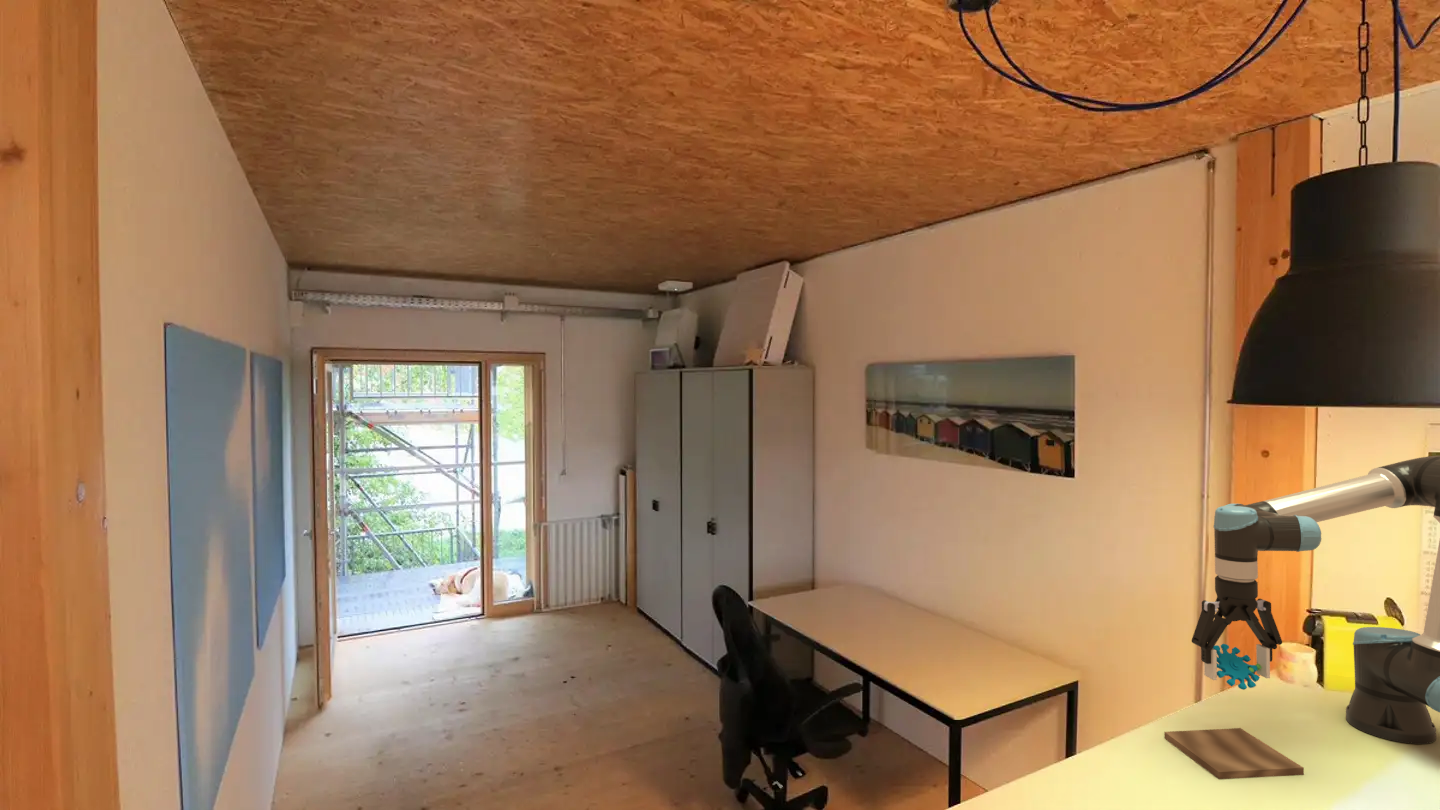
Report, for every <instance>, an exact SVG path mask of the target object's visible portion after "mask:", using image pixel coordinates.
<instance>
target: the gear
mask: <svg viewBox="0 0 1440 810" xmlns="http://www.w3.org/2000/svg"><path fill="white" fill-rule="evenodd" d="M1213 649H1215V650H1217V669H1219V670H1217V677H1218V678H1219V679H1222V678H1224V677H1225V676H1226V677H1227V676H1228V677H1230V678H1229V679H1227V680H1226V683H1227V685H1229V686H1231V687H1233V686H1235V685H1236V680H1238V681H1239V683H1238V685H1237V687H1238V688H1239V689H1240V690H1243V691H1245V690H1247V688H1249V689H1253V688H1255V687H1257V682H1258V681H1260V678H1261V677H1260V676H1259V674H1256V673H1257V671H1258V670H1259V669H1261V668H1262V667H1261V666H1260V665H1259V664H1257V663H1255V664H1249V663H1248V662H1250V661H1251V658H1250V656H1249V655H1248V654H1245V655H1243V656H1238V654H1240V653H1241V650H1240V649H1239V648H1238V647H1237V646H1234V647H1232V648H1231V652H1228V649H1230V646H1229V645H1228V644H1226V643H1222V644H1221V645H1220V646H1219V645H1216V644H1215V646H1214V647H1213ZM1221 650H1222V652H1221ZM1245 681H1247V683H1245Z"/></svg>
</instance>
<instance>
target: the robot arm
mask: <svg viewBox="0 0 1440 810" xmlns="http://www.w3.org/2000/svg"><path fill="white" fill-rule="evenodd" d="M1408 506H1409V507H1410V506H1419V507H1420V506H1421V507H1423V506H1424V507H1430V508H1431V507H1432V508H1434V510H1433V511H1434V512H1433V518H1434V519H1435V520H1436V521H1437V522H1438V523H1439V524H1440V455H1432V456H1431V455H1430V456H1428V455H1427V456H1423V457H1416V458H1411V459H1407V460H1403V461H1398V462H1393V463H1390V464H1387V465H1383V466H1378V467H1374V468H1371V470H1369V471H1368V473H1367V474H1366V475H1362V476H1359V477H1354V478H1349V479H1346V480H1341V481H1337V482H1333V483H1330V484H1326V485H1321V486H1318V487H1315V488H1310V489H1306V490H1302V491H1299V492H1294V493H1290V494H1286V495H1282V496H1279V497H1274V498H1269V499H1266V500H1262V501H1261V500H1260V501H1258V502H1257V501H1256V502H1253V503H1249V504H1243V503H1229V504H1226V505H1221V506H1219V507H1217V508H1216V509H1215V511H1214V518H1213V519H1214V520H1213V521H1214V522H1213V531H1214V532H1213V533H1214V535H1213V536H1214V573H1215V575H1216V576H1215V577H1214V592H1215V594H1216V599H1215V601H1208V600H1202V601H1201V612H1200V614H1199V618H1198V620H1197V623H1196V626H1195V629H1194V631H1193V632H1194V633H1193V635H1192V638H1191V643H1192V644H1194V645H1195V646H1197V647H1200V653H1201V654H1200V656H1201V657H1200V658H1201V662H1203V663H1204V664H1203V666H1204V669H1203V670H1204V671H1203V672H1204V673H1203V674H1204V676H1205V677H1207V678H1209V679H1210V680H1213V681H1217V680H1218V678H1217V677H1218V676H1217V671H1218V670H1217V669H1218V668H1217V663H1218V662H1217V657H1218V655H1217V650H1215V649H1213V647H1214V646H1216V644H1217V642H1218V641H1219V639H1220V638H1221V636H1222V634H1223V633H1224V632H1225V630H1226V628H1227V627H1228V626H1229V625H1231V624H1232V622H1238V621H1242V622H1245V623H1246V624H1247V625H1248V627H1249V628H1250V630H1251V631H1252V633H1253V634H1254V635H1255V637H1256V639H1257V640H1258V642H1259V643H1260V644H1259V643H1257V644H1255V647H1256V648H1255V649H1256V653H1255V654H1256V664H1259V665H1260V666H1261V667H1262V668H1261V669H1259V670H1258V671H1256V675H1258V676H1259V675H1260V676H1261V677H1263V678H1265V679H1270V678H1271V662H1272V661H1273V650H1276V649H1277V648H1278V645H1279V646H1281V645H1282V644H1283V640H1282V637H1281V634H1280V632H1279V629H1278V626H1277V624H1276V621H1275V618H1274V615H1273V613H1272V603H1271V601H1268V600H1265V599H1263V598H1258V597H1259V590H1258V589H1259V586H1258V585H1259V584H1258V583H1259V582H1258V581H1257V579H1258V578H1259V575H1258V574H1259V572H1258V569H1259V568H1258V567H1259V566H1258V564H1259V563H1258V553H1259V551H1260V552H1296V553H1298V552H1306V551H1309V552H1310V551H1314V550H1315V549H1316V550H1317V548H1318V547H1319V546H1320V544H1321V542H1322V530H1321V528H1320V526H1319V524H1318V523H1320V522H1323V521H1328V520H1332V519H1333V520H1334V519H1336V518H1341V517H1345V516H1350V515H1352V514H1357V513H1361V512H1366V511H1370V510H1374V509H1378V508H1383V507H1387V508H1391V509H1398V508H1403V507H1408ZM1433 570H1434V571H1433V576H1432V581H1431V587H1430V592H1429V593H1430V594H1429V598H1428V599H1429V600H1428V604H1427V610H1426V616H1425V622H1424V628H1423V633H1422V634H1420V633H1418V632H1416V631H1411V630H1407V629H1402V628H1393V627H1383V626H1382V627H1381V626H1380V627H1379V626H1365V627H1360V628H1357V629H1355V631H1354V634H1353V635H1354V636H1353V642H1352V646H1353V662H1354V663H1353V664H1354V690H1353V692H1352V695H1351V697H1350V700H1349V704H1348V705H1347V706H1346V707H1345V708H1346V709H1345V719H1346V721H1347V723H1348V724H1349V725H1351V726H1352V727H1354V728H1356V729H1357V730H1359V731H1361V732H1364V733H1367V734H1369V735H1372V736H1374V737H1378V738H1381V739H1385V740H1389V741H1393V742H1399V743H1404V744H1405V743H1406V744H1414V745H1415V744H1416V745H1425V744H1426V745H1427V744H1431V742H1432V743H1433V742H1435V741H1436V740H1437V728H1436V725H1435V724H1434V723H1433V722H1432V721H1433V720H1432V717H1431V715H1430V712H1429V709H1428V707H1430V709H1432V710H1433V711H1436V712H1437V713H1440V539H1439V540H1438V547H1437V553H1436V559H1435V563H1434V569H1433ZM1257 598H1258V599H1257ZM1256 609H1257V613H1258V615H1259V616H1257V615H1256V614H1255V610H1256ZM1258 617H1259V618H1260V619H1259V618H1258ZM1260 622H1261V623H1262V625H1261V623H1260Z"/></svg>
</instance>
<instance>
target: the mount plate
mask: <svg viewBox="0 0 1440 810" xmlns="http://www.w3.org/2000/svg"><path fill="white" fill-rule="evenodd" d="M1164 739H1165V740H1167V741H1168V742H1169V743H1171V745H1173V746H1174V747H1176V748H1177V749H1179V750H1180V751H1181V752H1182V753H1183V754H1185V755H1187V757H1189V758H1190V759H1192V760H1193V761H1195V763H1197V764H1198V765H1199V766H1201V767H1202V768H1203V769H1205V770H1206V771H1208V772H1209V774H1212V776H1214V777H1215V778H1217V779H1218V780H1229V779H1247V778H1248V779H1249V778H1267V777H1290V776H1304V775H1305V769H1304V768H1305V767H1303V766H1302V765H1301V764H1299V763H1297V762H1296V761H1294V760H1292V759H1290V758H1289V757H1288V756H1286V755H1284V754H1283V753H1281V752H1279V751H1278V750H1276V749H1275V748H1274V747H1271V745H1268V744H1267V743H1265V742H1263V741H1262V740H1260V739H1259V738H1257V737H1256V736H1254V735H1252V734H1250V733H1249V732H1247V731H1246V730H1244V729H1243V728H1241V727H1234V728H1214V729H1193V730H1192V729H1191V730H1173V731H1164Z"/></svg>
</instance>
